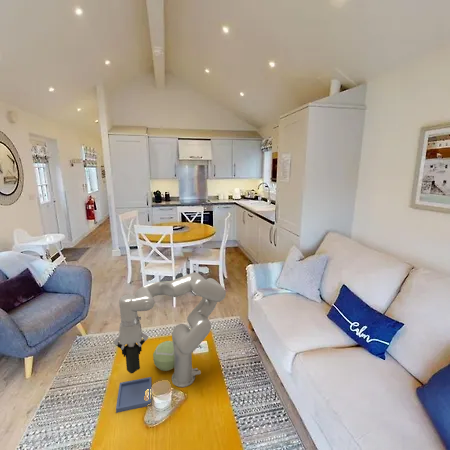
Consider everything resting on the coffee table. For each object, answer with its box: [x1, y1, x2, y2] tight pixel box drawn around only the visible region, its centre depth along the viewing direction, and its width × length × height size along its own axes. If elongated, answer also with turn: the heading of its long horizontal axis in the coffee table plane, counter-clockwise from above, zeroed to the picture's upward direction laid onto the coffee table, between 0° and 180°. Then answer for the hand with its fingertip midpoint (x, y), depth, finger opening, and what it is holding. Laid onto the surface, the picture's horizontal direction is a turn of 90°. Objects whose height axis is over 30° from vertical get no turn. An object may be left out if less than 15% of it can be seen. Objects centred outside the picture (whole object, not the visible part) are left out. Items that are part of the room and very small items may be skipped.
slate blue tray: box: [115, 376, 152, 414], centre depth 133 cm, size 16×16×2 cm
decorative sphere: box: [152, 340, 174, 372], centre depth 151 cm, size 15×15×15 cm
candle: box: [125, 343, 141, 374], centre depth 127 cm, size 5×5×25 cm
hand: (132, 353), depth 128 cm, fingers closed on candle, 6 cm apart
